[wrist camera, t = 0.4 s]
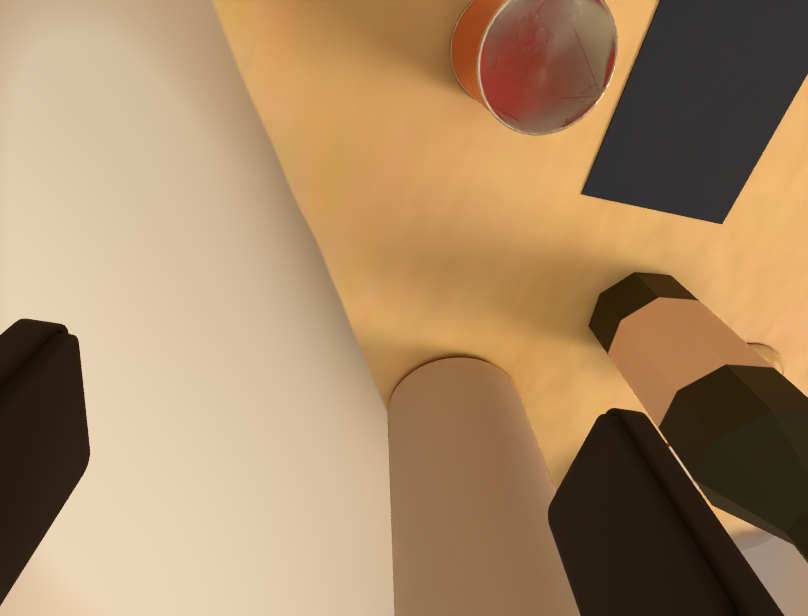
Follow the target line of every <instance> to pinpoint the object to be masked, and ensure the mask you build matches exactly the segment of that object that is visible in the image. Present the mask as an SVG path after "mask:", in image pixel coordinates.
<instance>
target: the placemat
mask: <svg viewBox="0 0 808 616" xmlns="http://www.w3.org/2000/svg"><path fill="white" fill-rule="evenodd" d="M807 74H808V0H660V3H659V5H658V7H657V10H656V12H655V15H654V17H653V20H652V22H651V25H650V27H649V30H648V32H647V34H646V37H645V39H644V42H643V44H642V47H641V49H640V52H639V54H638V57H637V59H636V61H635V64H634V66H633V69H632V71H631V74H630V76H629V79H628V81H627V84H626V86H625V88H624V91H623V93H622V96H621V98H620V101H619V103H618V106H617V108H616V110H615V113H614V115H613V118H612V120H611V123H610V125H609V128H608V130H607V133H606V135H605V137H604V140H603V142H602V145H601V147H600V150H599V152H598V155H597V157H596V160H595V162H594V164H593V167H592V169H591V172H590V174H589V177H588V179H587V182H586V184H585V187H584V189H583V191H582V195H587V196H592V197H596V198H601V199H606V200H611V201H615V202H620V203H625V204H629V205H634V206H639V207H644V208H648V209H653V210H658V211H662V212H667V213H672V214H677V215H681V216H686V217H691V218H695V219H700V220H705V221H710V222H714V223H719V224H723V222H724V220H725V218H726V216H727V215H728V213H729V211H730V209H731V208H732V206H733V204H734V202H735V201H736V199H737V197H738V195H739V194H740V192H741V190H742V188H743V187H744V185H745V183H746V181H747V180H748V178H749V176H750V174H751V173H752V171H753V169H754V167H755V166H756V164H757V162H758V160H759V158H760V157H761V155H762V153H763V151H764V150H765V148H766V146H767V144H768V143H769V141H770V139H771V137H772V136H773V134H774V132H775V130H776V129H777V127H778V125H779V123H780V122H781V120H782V118H783V116H784V115H785V113H786V111H787V109H788V108H789V106H790V104H791V102H792V100H793V99H794V97H795V95H796V93H797V92H798V90H799V88H800V86H801V85H802V83H803V81H804V79H805V78H806V76H807Z"/></svg>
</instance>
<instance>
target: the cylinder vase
mask: <svg viewBox="0 0 808 616" xmlns="http://www.w3.org/2000/svg"><path fill="white" fill-rule="evenodd" d="M388 437H389V466H390V494H391V525H392V553H393V583H394V609H395V610H394V611H395V616H580V613H579V610H578V607H577V604H576V601H575V598H574V595H573V593H572V590H571V587H570V584H569V581H568V578H567V575H566V572H565V569H564V567H563V564H562V561H561V558H560V555H559V552H558V549H557V546H556V544H555V541H554V538H553V535H552V532H551V529H550V526H549V523H548V508H549V505H550V503H551V501H552V499H553V497H554V496H555V494H556V490H555V487H554V485H553V482H552V479H551V477H550V474H549V471H548V469H547V466H546V463H545V461H544V458H543V456H542V453H541V450H540V448H539V445H538V442H537V440H536V437H535V434H534V432H533V429H532V427H531V424H530V421H529V419H528V416H527V413H526V411H525V408H524V405H523V403H522V400H521V397H520V395H519V392H518V390H517V388H516V386H515V384H514V383H513V381H512V380H511V379H510V377H509V376H508V375H507V374H506V373H504V372H503V371H502V370H500V369H499V368H497V367H496V366H494V365H492V364H490V363H487V362H485V361H481V360H478V359H473V358H462V357H457V358H446V359H441V360H437V361H434V362H431V363H428V364H426V365H424V366H422V367H420V368H418V369H416V370H415V371H413V372H412V373H410V374H409V375H408V376H407V377H406V378H405V379H404V380H403V381H402V382H401V383H400V384H399V385H398V386H397V388H396V389H395V391H394V393H393V395H392V397H391V399H390V402H389V407H388Z"/></svg>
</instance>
